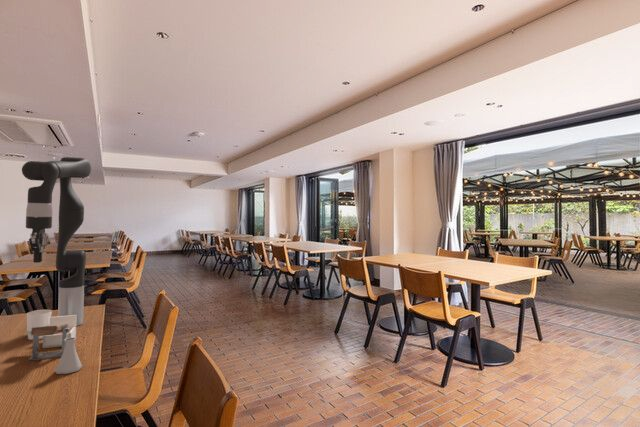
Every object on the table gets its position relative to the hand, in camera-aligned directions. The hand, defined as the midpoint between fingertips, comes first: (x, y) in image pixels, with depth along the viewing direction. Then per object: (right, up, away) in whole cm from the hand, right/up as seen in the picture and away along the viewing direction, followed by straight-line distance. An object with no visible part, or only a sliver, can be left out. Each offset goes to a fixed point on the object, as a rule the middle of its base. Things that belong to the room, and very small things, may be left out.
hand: (37, 262), depth 129 cm
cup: (+4, -32, +6) cm, 33 cm away
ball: (+3, -29, +8) cm, 30 cm away
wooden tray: (+8, -24, -8) cm, 26 cm away
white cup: (-8, -32, +11) cm, 35 cm away
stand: (+10, -32, -7) cm, 34 cm away
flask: (+24, -33, -17) cm, 44 cm away
